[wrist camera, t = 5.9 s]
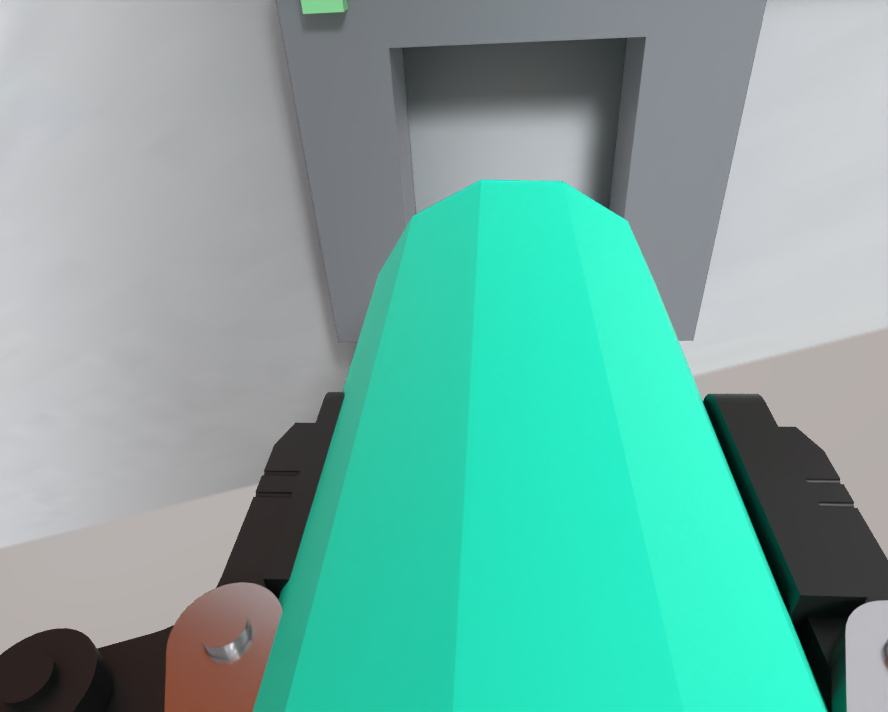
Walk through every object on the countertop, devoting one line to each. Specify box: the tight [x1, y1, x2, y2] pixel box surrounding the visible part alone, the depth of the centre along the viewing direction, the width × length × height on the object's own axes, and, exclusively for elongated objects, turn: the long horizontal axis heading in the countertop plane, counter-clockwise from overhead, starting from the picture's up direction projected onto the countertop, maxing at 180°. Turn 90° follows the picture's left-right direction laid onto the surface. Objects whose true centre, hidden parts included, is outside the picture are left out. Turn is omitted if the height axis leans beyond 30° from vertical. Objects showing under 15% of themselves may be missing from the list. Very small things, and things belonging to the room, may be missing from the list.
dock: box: [276, 0, 767, 342], centre depth 22 cm, size 14×14×4 cm
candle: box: [253, 180, 828, 712], centre depth 9 cm, size 6×6×12 cm
